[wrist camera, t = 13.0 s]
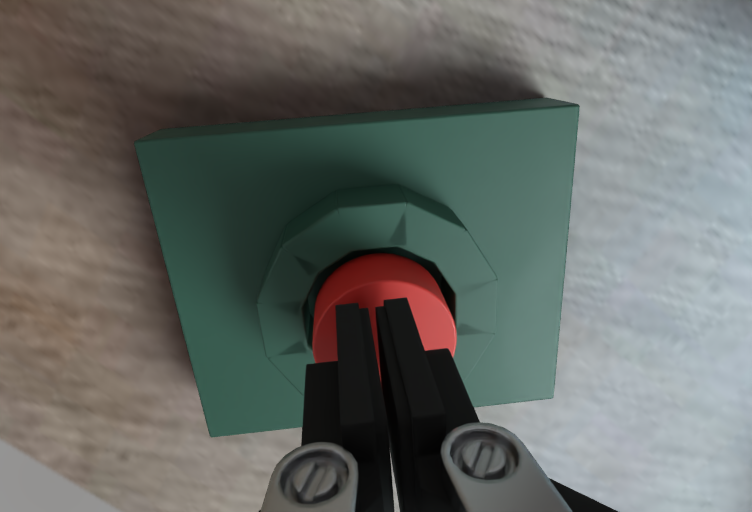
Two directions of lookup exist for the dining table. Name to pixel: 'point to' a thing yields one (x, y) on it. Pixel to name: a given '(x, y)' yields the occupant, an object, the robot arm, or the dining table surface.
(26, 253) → the dining table surface
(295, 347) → the button block
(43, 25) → the dining table surface
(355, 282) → the button
